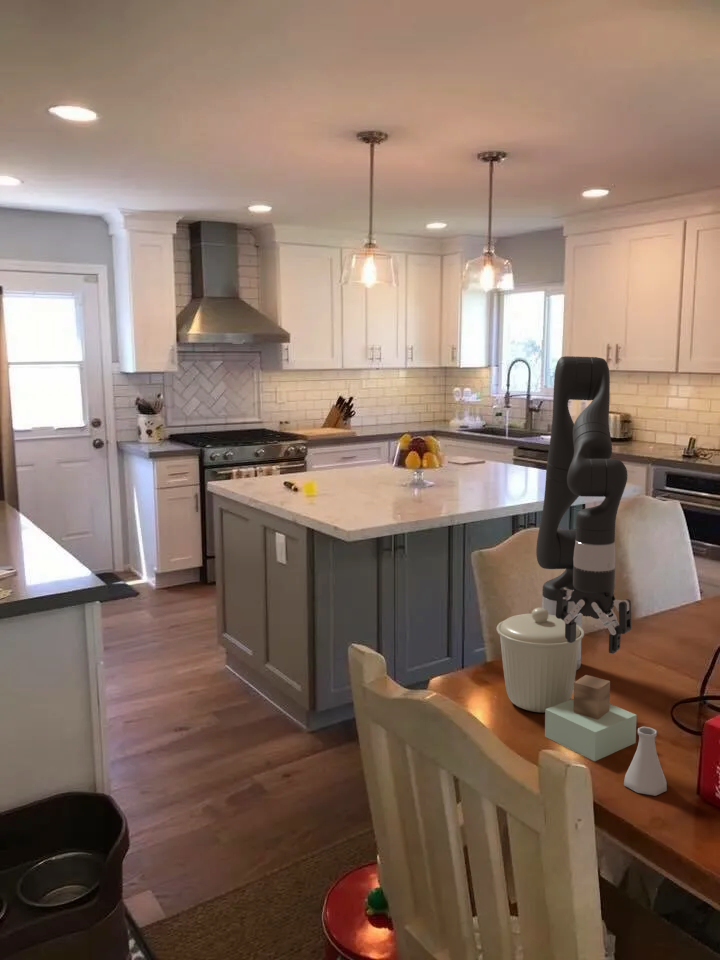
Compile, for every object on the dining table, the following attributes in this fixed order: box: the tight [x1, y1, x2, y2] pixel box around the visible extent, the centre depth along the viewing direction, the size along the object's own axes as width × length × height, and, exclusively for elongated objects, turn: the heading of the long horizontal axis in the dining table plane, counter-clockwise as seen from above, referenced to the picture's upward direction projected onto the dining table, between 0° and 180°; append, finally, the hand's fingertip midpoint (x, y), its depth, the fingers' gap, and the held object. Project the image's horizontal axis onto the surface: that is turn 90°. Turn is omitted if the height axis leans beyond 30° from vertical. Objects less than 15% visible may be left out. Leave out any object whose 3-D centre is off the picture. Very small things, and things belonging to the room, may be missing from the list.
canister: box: [496, 607, 585, 714], centre depth 166 cm, size 18×18×21 cm
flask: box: [623, 726, 668, 797], centre depth 134 cm, size 7×7×10 cm
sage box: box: [544, 698, 638, 762], centre depth 151 cm, size 12×12×6 cm
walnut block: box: [573, 674, 611, 719], centre depth 150 cm, size 5×5×6 cm
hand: (591, 646), depth 149 cm, fingers open, 8 cm apart
